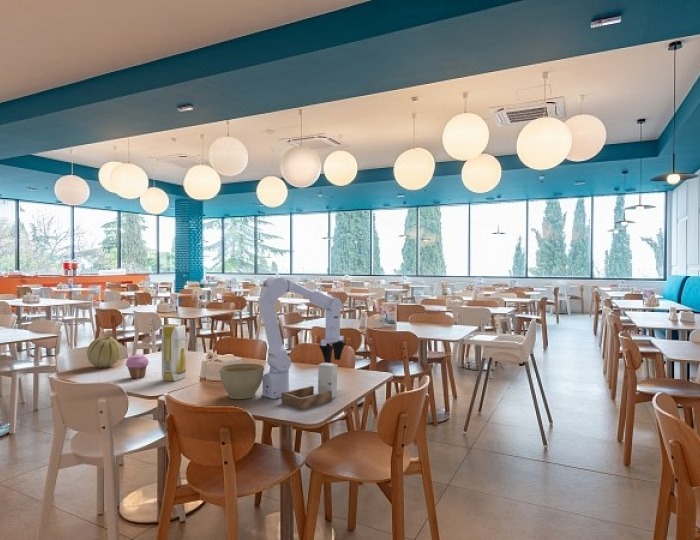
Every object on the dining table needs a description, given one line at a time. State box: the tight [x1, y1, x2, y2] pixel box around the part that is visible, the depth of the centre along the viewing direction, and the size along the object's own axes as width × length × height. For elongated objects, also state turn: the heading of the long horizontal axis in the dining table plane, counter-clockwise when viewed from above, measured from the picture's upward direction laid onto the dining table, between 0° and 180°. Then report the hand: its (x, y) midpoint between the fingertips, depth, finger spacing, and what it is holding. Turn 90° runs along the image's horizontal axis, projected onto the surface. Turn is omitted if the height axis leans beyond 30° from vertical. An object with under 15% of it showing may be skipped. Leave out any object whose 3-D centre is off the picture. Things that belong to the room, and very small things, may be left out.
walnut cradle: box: [281, 385, 333, 410], centre depth 167 cm, size 14×11×4 cm
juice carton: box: [161, 322, 187, 382], centre depth 202 cm, size 9×8×24 cm
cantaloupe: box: [86, 335, 122, 368], centre depth 226 cm, size 15×15×15 cm
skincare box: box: [317, 361, 338, 399], centre depth 174 cm, size 6×4×12 cm
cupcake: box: [125, 354, 150, 379], centre depth 205 cm, size 9×9×10 cm
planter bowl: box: [219, 362, 265, 400], centre depth 175 cm, size 16×16×11 cm
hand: (332, 361), depth 188 cm, fingers open, 7 cm apart
